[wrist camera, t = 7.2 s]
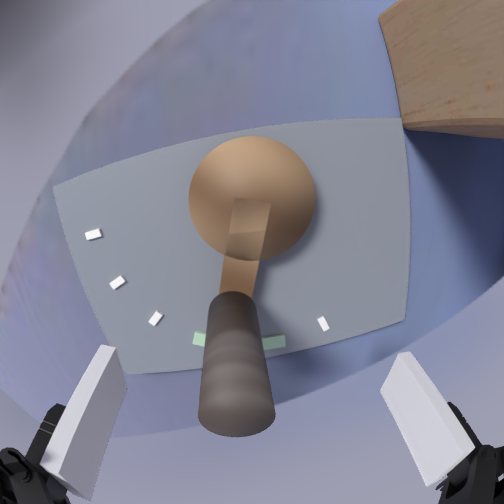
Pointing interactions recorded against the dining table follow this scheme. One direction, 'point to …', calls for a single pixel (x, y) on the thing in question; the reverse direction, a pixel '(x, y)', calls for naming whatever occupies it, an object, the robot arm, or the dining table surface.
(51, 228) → the dining table surface
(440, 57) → the wooden block
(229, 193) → the dial
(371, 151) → the board
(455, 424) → the robot arm
